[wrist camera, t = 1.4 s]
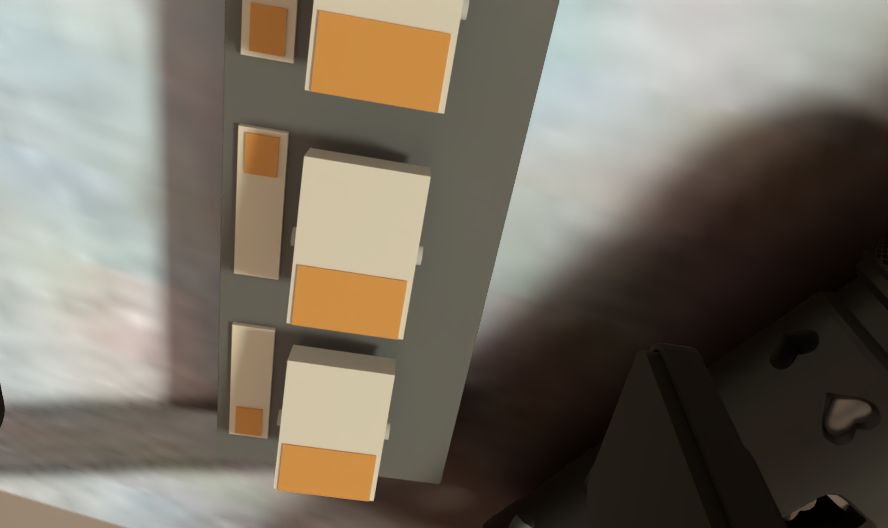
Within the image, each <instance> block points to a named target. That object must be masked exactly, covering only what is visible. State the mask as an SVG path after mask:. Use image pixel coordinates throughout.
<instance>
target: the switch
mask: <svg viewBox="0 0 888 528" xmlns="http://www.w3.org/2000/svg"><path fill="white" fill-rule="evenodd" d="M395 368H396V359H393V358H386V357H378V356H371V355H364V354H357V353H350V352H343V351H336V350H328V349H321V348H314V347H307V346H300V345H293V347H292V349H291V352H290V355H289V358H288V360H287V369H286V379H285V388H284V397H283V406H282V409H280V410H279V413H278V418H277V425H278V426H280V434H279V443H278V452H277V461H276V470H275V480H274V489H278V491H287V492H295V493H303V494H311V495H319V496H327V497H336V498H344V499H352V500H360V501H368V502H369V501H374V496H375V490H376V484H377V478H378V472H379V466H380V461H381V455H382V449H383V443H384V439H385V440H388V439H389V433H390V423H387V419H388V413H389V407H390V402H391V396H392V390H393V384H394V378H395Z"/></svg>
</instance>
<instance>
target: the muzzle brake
mask: <svg viewBox="0 0 888 528" xmlns="http://www.w3.org/2000/svg"><path fill="white" fill-rule="evenodd" d="M855 266H856V271H857V275H855V276H854V277H852V278H851V279H849V280H848V281H847V282H845V283H844V284H842V285H841V286H839V287H838V288H836V289H835V290H833V291H832V292H825V291H821V292H817V293H814V294H813V295H811V296H810V297H809V298H807V299H806V300H804V301H803V302H801V303H800V304H799V305H798V306H796V307H795V308H794V309H792V310H791V311H789V312H788V313H787V314H785V315H784V316H782V317H780V318H779V319H778V320H776V321H775V322H773V323H772V324H771V325H769V326H768V327H766V328H765V329H763V330H762V331H760V332H759V333H757V334H755V335H754V336H752V337H751V338H750V339H748V340H747V341H745V342H744V343H742V344H741V345H739V346H738V347H737V348H735V349H734V350H732V351H731V352H729V353H728V354H727V355H725V356H724V357H722V358H721V359H719V360H718V361H716V362H715V363H714V364H712V365H711V366H709V367H708V368H707V370H708V372H709V374H710V376H711V378H712V380H713V382H714V384H715V386H716V389H717V391H718V393H719V395H720V397H721V399H722V401H723V403H724V405H725V407H726V409H727V412H728V414H729V416H730V418H731V420H732V422H733V424H734V426H735V428H736V430H737V432H738V435H739V437H740V439H741V441H742V443H743V445H744V447H745V448H747V449H748V450H749V451H750V453H751V454H752V456H753V457H754V459H755V461H756V463H757V465H758V467H759V470H760V472H761V474H762V476H763V478H764V480H765V482H766V484H767V486H768V488H769V490H770V492H771V494H772V496H773V498H774V500H775V503H776V505H777V507H778V509H779V511H780V513H781V515H782V517H783V519H784V521H785V523H786V525H787V527H788V528H888V234H887V235H885V236H884V237H883V238H881V239H880V240H878V241H877V242H875V243H874V244H873V245H871V246H870V247H868V248H867V249H866V250H865V251H864V257H863V259H862V260H861V261H859V262H858V263H857V264H855ZM602 442H603V441H602ZM602 442H601V443H599V444H598V445H596V446H595V447H594V448H592V449H590V450H588V451H587V452H586V453H584V454H583V455H581V456H580V457H578V458H577V459H575V460H574V461H573V462H571V463H570V464H568V465H567V466H565V467H564V468H563V469H561V470H560V471H558V472H557V473H555V474H554V475H552V476H551V477H550V478H548V479H547V480H545V481H544V482H543V483H541V484H540V485H539V486H537V487H536V488H535V489H533V490H532V491H530V492H529V493H527V494H526V495H524V496H523V497H522V498H520V499H519V500H517V501H515V502H514V503H512V504H511V505H509V506H508V507H506V508H505V509H504V510H502V511H501V512H499V513H498V514H496V515H495V516H493V517H492V518H491V519H489V520H488V521H487V522H486V523H485V524H484V525H483V527H482V528H592V523H591V518H590V514H589V509H588V503H587V485H588V480H589V477H590V474H591V471H592V469H593V466H594V463H595V461H596V458H597V455H598V453H599V450H600V448H601V445H602ZM815 499H817V502H816V504H815V506H814V507H813V508H812V509H810V510H807V511H799V513H798V514H797V516H796V517H795V518H794V519H792V520H790V517H791V514H792V512H794V511H796V510H798V509H799V508H801V507H803V506H805V505H807V504H808V503H810V502H812V501H814V500H815Z"/></svg>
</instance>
